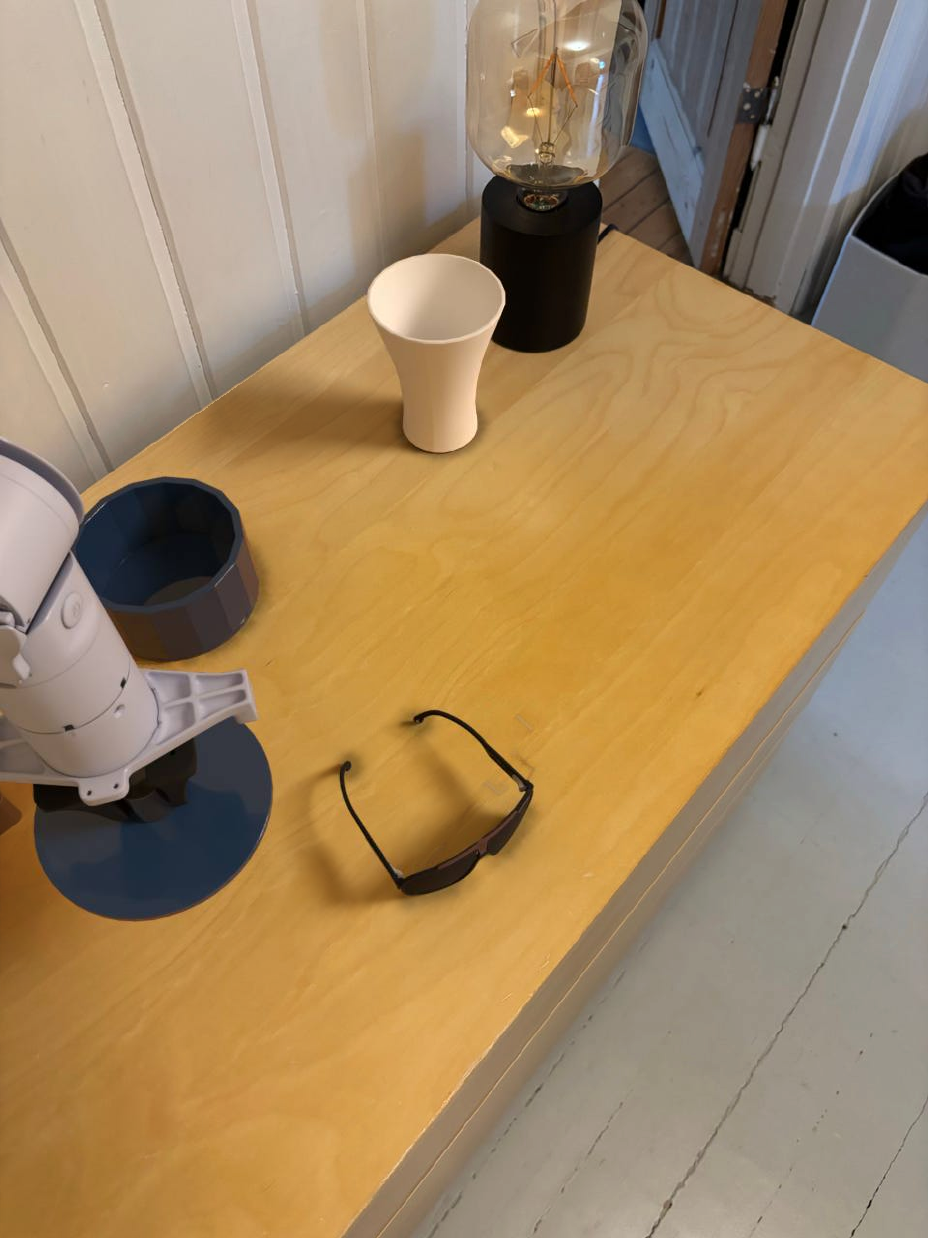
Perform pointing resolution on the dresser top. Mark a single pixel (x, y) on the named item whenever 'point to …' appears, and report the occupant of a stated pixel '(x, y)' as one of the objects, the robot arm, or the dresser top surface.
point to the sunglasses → (468, 858)
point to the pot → (169, 566)
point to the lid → (164, 835)
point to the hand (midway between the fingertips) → (150, 796)
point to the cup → (437, 341)
